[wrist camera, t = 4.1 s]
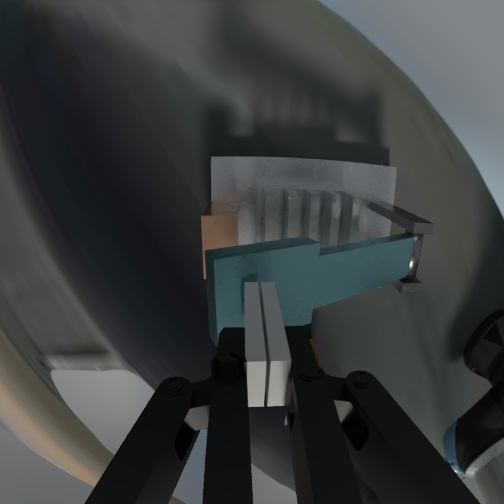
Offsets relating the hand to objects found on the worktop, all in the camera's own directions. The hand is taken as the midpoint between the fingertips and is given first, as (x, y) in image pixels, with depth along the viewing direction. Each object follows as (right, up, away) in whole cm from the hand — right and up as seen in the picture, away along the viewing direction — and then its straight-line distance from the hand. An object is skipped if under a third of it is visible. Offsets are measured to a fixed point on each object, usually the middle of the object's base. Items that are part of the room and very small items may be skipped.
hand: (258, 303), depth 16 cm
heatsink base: (+6, +6, +18) cm, 20 cm away
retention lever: (+6, +2, +5) cm, 8 cm away
